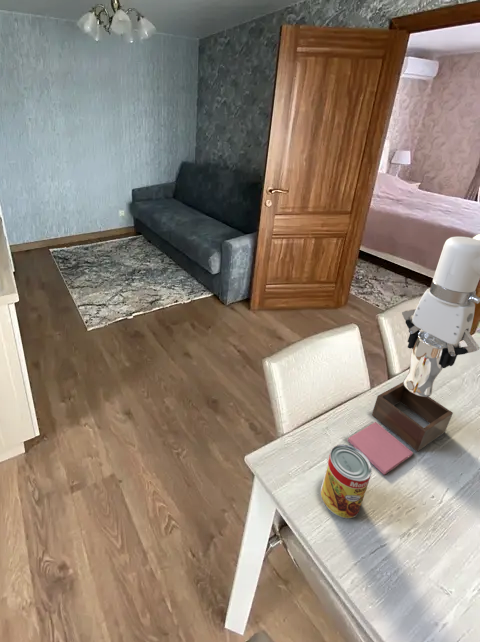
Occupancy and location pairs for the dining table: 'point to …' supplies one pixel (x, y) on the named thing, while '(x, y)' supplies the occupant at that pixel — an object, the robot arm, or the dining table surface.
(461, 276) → the robot arm
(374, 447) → the mat
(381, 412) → the brown wooden box
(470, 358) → the dining table surface
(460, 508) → the dining table surface
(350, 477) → the canned food
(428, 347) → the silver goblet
